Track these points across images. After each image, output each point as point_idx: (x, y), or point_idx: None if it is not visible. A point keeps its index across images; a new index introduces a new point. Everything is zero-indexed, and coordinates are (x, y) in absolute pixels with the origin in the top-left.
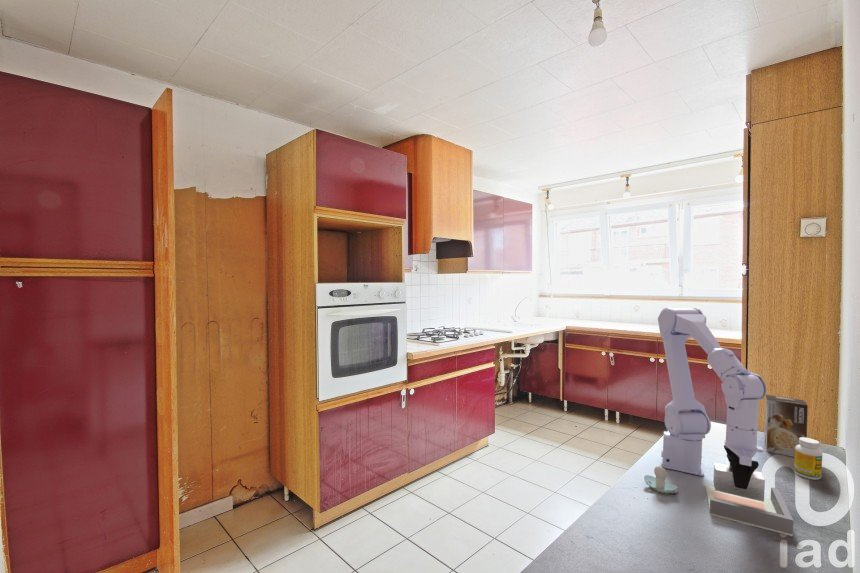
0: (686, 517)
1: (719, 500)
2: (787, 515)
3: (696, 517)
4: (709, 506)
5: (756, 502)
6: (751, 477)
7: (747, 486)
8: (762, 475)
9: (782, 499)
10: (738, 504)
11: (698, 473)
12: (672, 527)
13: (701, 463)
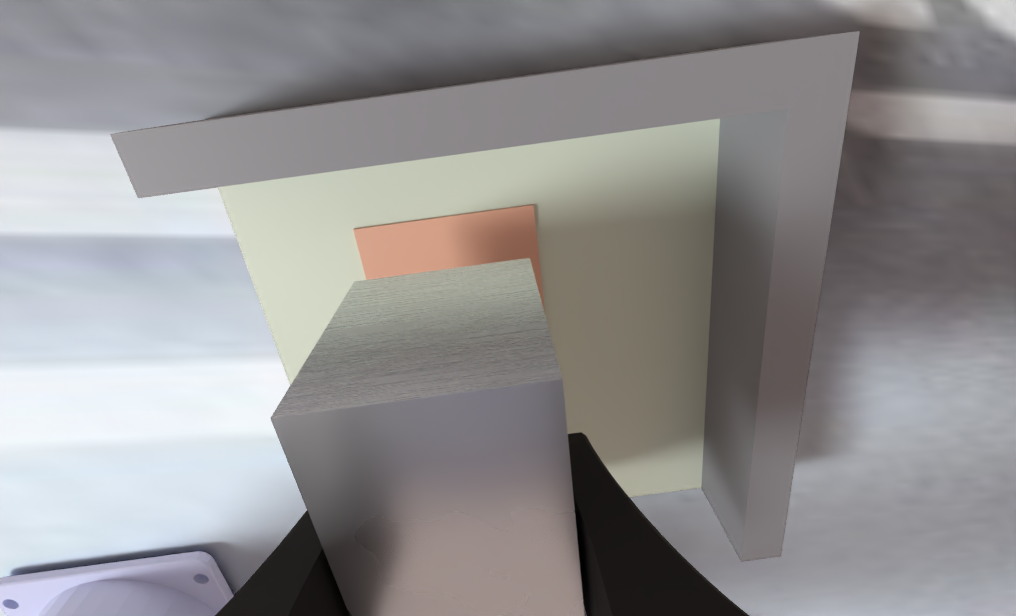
0: (818, 548)
1: (761, 520)
2: (777, 80)
3: (795, 518)
4: (654, 493)
5: (378, 270)
6: (571, 503)
7: (590, 449)
8: (393, 405)
9: (390, 101)
10: (763, 427)
11: (210, 581)
12: (943, 575)
13: (3, 587)
